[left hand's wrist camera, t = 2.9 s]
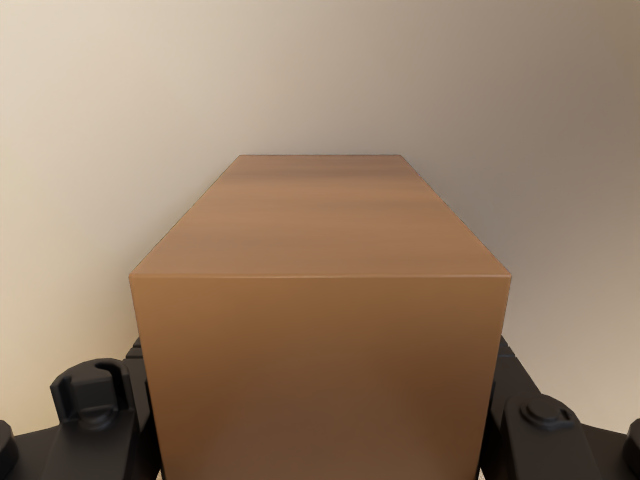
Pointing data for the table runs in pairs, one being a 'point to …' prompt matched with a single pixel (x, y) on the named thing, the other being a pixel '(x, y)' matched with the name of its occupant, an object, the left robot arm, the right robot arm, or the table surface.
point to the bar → (320, 326)
